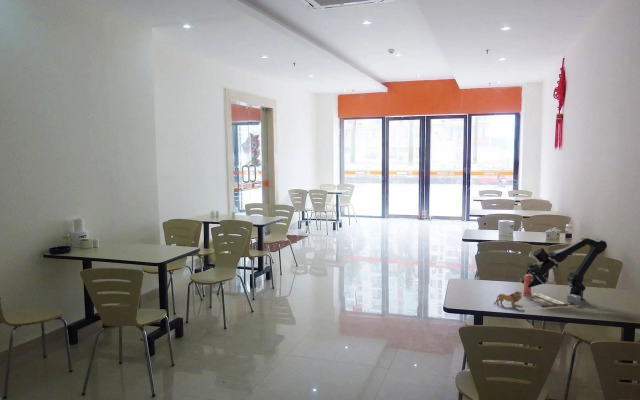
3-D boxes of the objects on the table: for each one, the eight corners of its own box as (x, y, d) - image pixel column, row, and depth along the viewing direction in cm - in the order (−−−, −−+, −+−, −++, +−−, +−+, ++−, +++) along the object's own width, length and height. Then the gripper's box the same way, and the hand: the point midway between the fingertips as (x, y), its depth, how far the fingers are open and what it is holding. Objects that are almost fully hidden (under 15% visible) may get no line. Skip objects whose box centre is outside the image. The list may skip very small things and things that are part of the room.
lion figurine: (520, 305, 271) (521, 290, 270) (522, 308, 266) (522, 292, 265) (493, 303, 274) (493, 288, 274) (494, 306, 269) (494, 290, 268)
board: (540, 295, 294) (540, 292, 293) (568, 306, 271) (568, 303, 271) (517, 296, 290) (517, 294, 290) (543, 307, 267) (543, 305, 267)
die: (571, 302, 279) (572, 294, 278) (580, 304, 274) (580, 296, 274) (567, 303, 276) (567, 295, 275) (575, 306, 272) (576, 297, 271)
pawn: (527, 293, 290) (529, 273, 289) (533, 296, 286) (534, 275, 285) (520, 294, 289) (521, 273, 288) (526, 296, 284) (527, 275, 283)
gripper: (529, 254, 295) (510, 272, 296) (542, 261, 276) (522, 279, 277) (541, 267, 295) (522, 284, 296) (555, 274, 276) (535, 293, 278)
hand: (525, 285), depth 287 cm, fingers open, 9 cm apart
